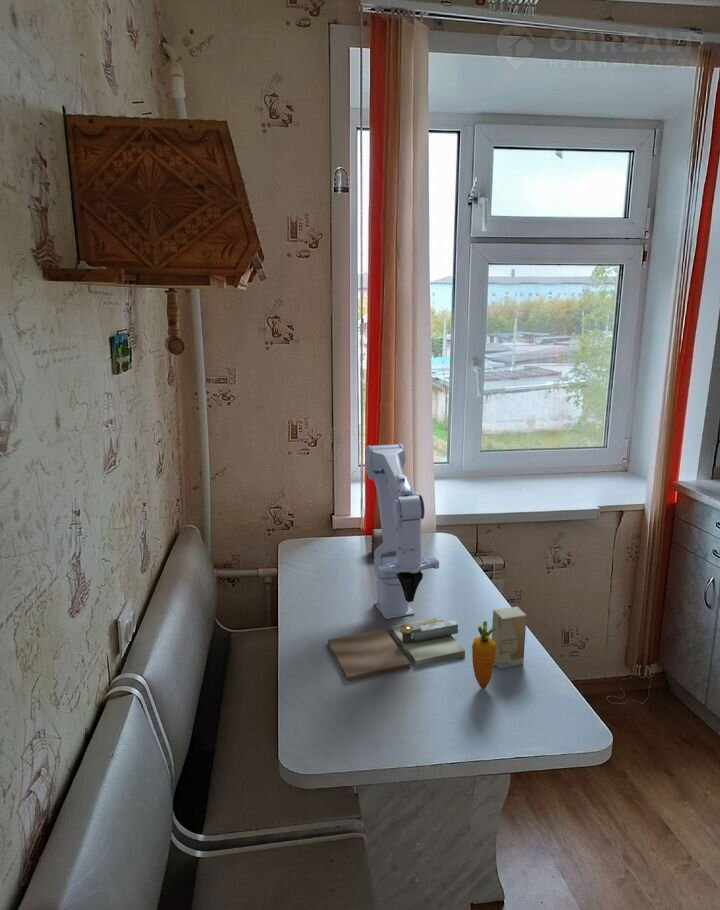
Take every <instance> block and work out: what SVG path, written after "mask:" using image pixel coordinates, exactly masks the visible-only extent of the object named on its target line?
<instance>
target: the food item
mask: <svg viewBox="0 0 720 910" xmlns="http://www.w3.org/2000/svg"><path fill="white" fill-rule="evenodd" d="M382 543H383V537H382V528H374V529H372V531H371V545H370V546H371V547H370V548H371V552H370V553H371V555H372V557H373V558H374V553H375V550H376V549H377V548H378V547H379V546H380V545H381V544H382ZM394 554H396V553H394ZM383 555H393V554H383ZM381 556H382V555H381Z"/></svg>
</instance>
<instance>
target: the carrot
mask: <svg viewBox="0 0 720 910" xmlns="http://www.w3.org/2000/svg"><path fill="white" fill-rule="evenodd" d="M477 630H478V632H479V634H480V636H478V637H476V638H474V639H473V643H472V645H471V647H472V648H471V649H472V652H471V655H472V668H473V673H474V676H475V677H474V678H475V679H476V682H477V683H478V686H479V687H480V688H481V689H482V690H484V689H486V688H487V687H488V685H489V683H490V681H491V679H492V676H493V672H494V669H495V668H494V667H495V653H496V643H495V641H494V640H492V637H489V636H490V635H492V632H493V631H495V630H496V628H492V627H491V628H490V629H489V631H488V621H486V620H485V621H484V620H483V623H482V626H481V625H479V626H477Z"/></svg>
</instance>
